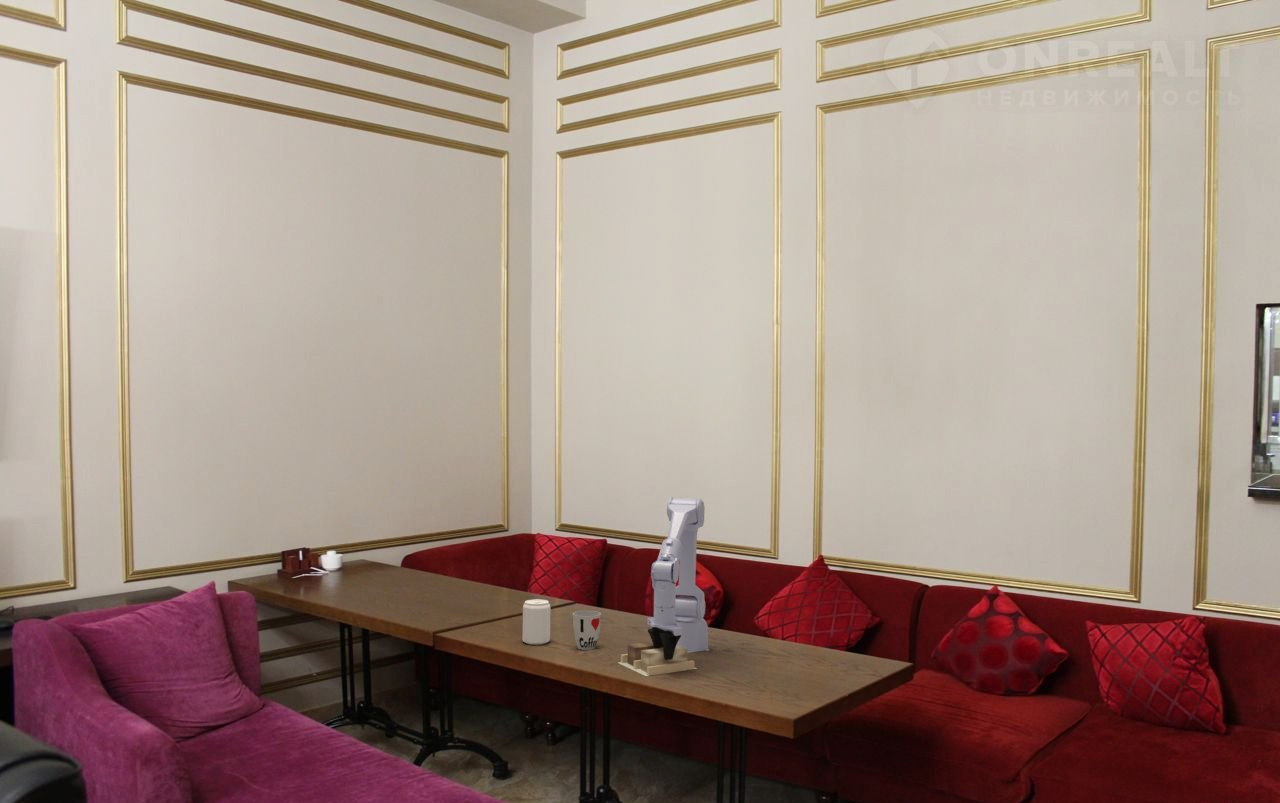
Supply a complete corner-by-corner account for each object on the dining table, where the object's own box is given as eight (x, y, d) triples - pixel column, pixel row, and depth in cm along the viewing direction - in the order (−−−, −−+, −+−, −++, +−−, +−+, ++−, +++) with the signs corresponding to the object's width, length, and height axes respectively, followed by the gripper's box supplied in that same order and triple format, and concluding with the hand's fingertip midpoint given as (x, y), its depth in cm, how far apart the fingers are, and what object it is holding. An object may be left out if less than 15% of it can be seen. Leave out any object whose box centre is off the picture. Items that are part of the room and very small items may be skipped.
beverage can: (517, 643, 287) (517, 602, 287) (532, 637, 294) (533, 598, 294) (540, 646, 283) (540, 605, 284) (555, 641, 291) (555, 600, 291)
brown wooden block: (665, 658, 270) (665, 640, 270) (673, 661, 266) (673, 643, 266) (627, 663, 264) (627, 644, 264) (634, 666, 260) (635, 648, 260)
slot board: (667, 657, 272) (667, 648, 272) (697, 670, 259) (697, 660, 259) (617, 664, 264) (617, 655, 264) (645, 678, 251) (645, 668, 251)
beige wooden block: (679, 664, 264) (679, 645, 264) (687, 667, 260) (687, 648, 260) (640, 669, 258) (641, 650, 258) (648, 673, 254) (648, 653, 254)
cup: (575, 652, 278) (575, 616, 278) (569, 645, 285) (570, 611, 286) (603, 650, 280) (603, 615, 280) (596, 644, 288) (597, 609, 288)
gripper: (637, 602, 263) (637, 653, 263) (666, 612, 251) (665, 665, 251) (660, 600, 267) (659, 650, 267) (689, 610, 254) (688, 662, 254)
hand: (664, 657), depth 259 cm, fingers closed on beige wooden block, 4 cm apart
